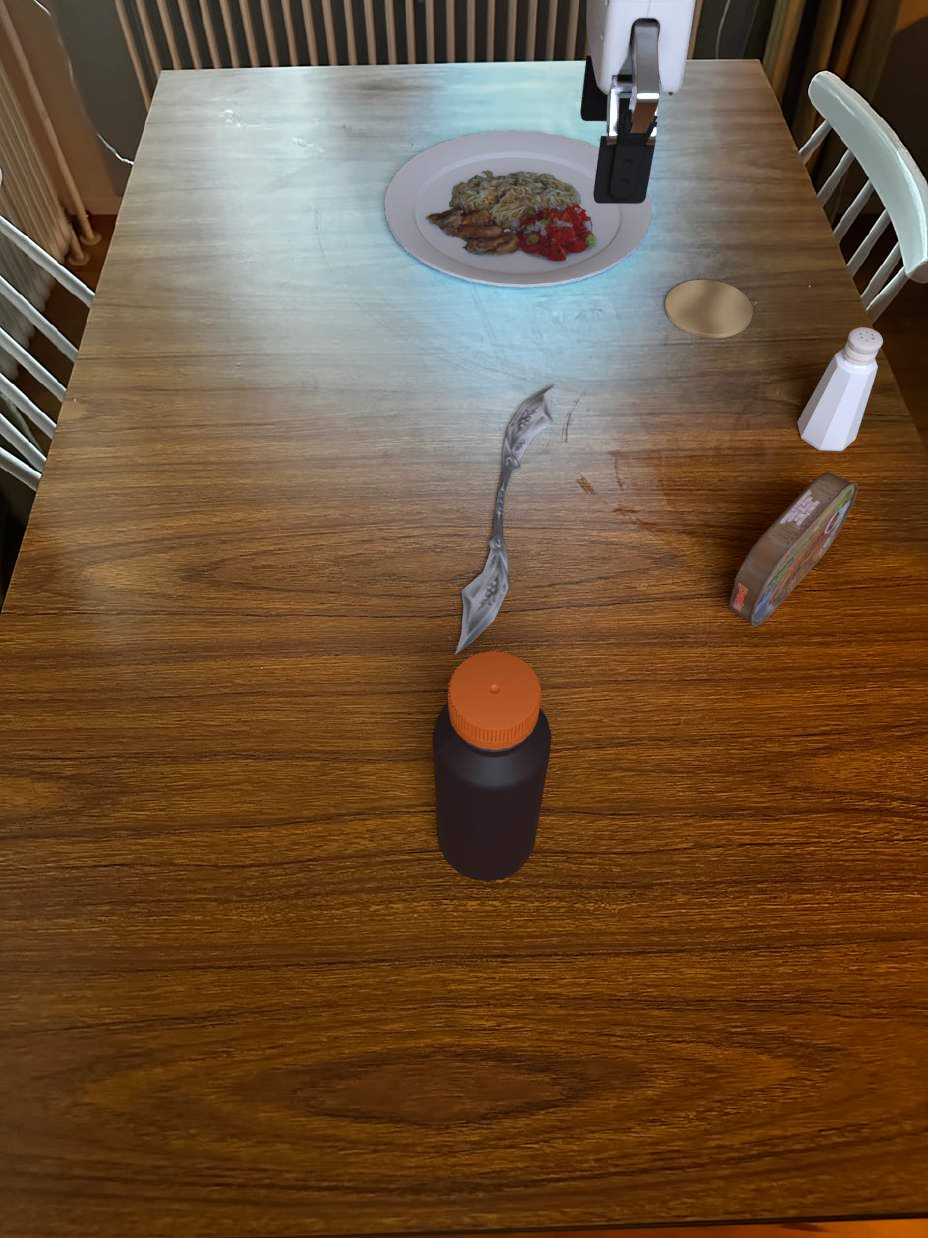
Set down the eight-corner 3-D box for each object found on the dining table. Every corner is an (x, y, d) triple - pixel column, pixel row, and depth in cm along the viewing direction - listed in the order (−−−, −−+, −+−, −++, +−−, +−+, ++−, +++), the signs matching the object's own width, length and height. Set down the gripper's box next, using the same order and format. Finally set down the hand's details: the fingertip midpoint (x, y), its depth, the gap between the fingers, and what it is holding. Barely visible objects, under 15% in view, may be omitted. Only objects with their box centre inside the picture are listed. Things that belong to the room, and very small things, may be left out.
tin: (744, 645, 75) (773, 580, 68) (710, 622, 76) (736, 557, 70) (841, 537, 82) (876, 468, 75) (808, 518, 83) (840, 448, 76)
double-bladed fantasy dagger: (559, 387, 92) (508, 381, 92) (559, 383, 91) (509, 376, 92) (509, 665, 74) (447, 655, 74) (509, 661, 73) (447, 651, 74)
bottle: (532, 789, 68) (554, 634, 52) (538, 882, 64) (564, 746, 48) (437, 791, 68) (429, 636, 52) (437, 884, 64) (429, 748, 48)
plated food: (444, 126, 119) (444, 98, 117) (678, 175, 113) (683, 147, 111) (340, 261, 103) (337, 233, 101) (606, 327, 97) (610, 299, 95)
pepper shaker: (834, 406, 91) (875, 309, 82) (866, 444, 88) (913, 348, 79) (784, 419, 90) (821, 323, 81) (816, 459, 87) (857, 363, 78)
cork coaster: (743, 282, 102) (744, 278, 101) (759, 338, 96) (760, 334, 96) (659, 283, 101) (659, 279, 101) (671, 338, 96) (672, 334, 96)
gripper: (764, -104, 43) (687, 237, 57) (704, -224, 53) (651, 91, 67) (598, -105, 43) (562, 236, 57) (569, -226, 53) (544, 91, 67)
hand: (610, 158), depth 62 cm, fingers open, 9 cm apart
